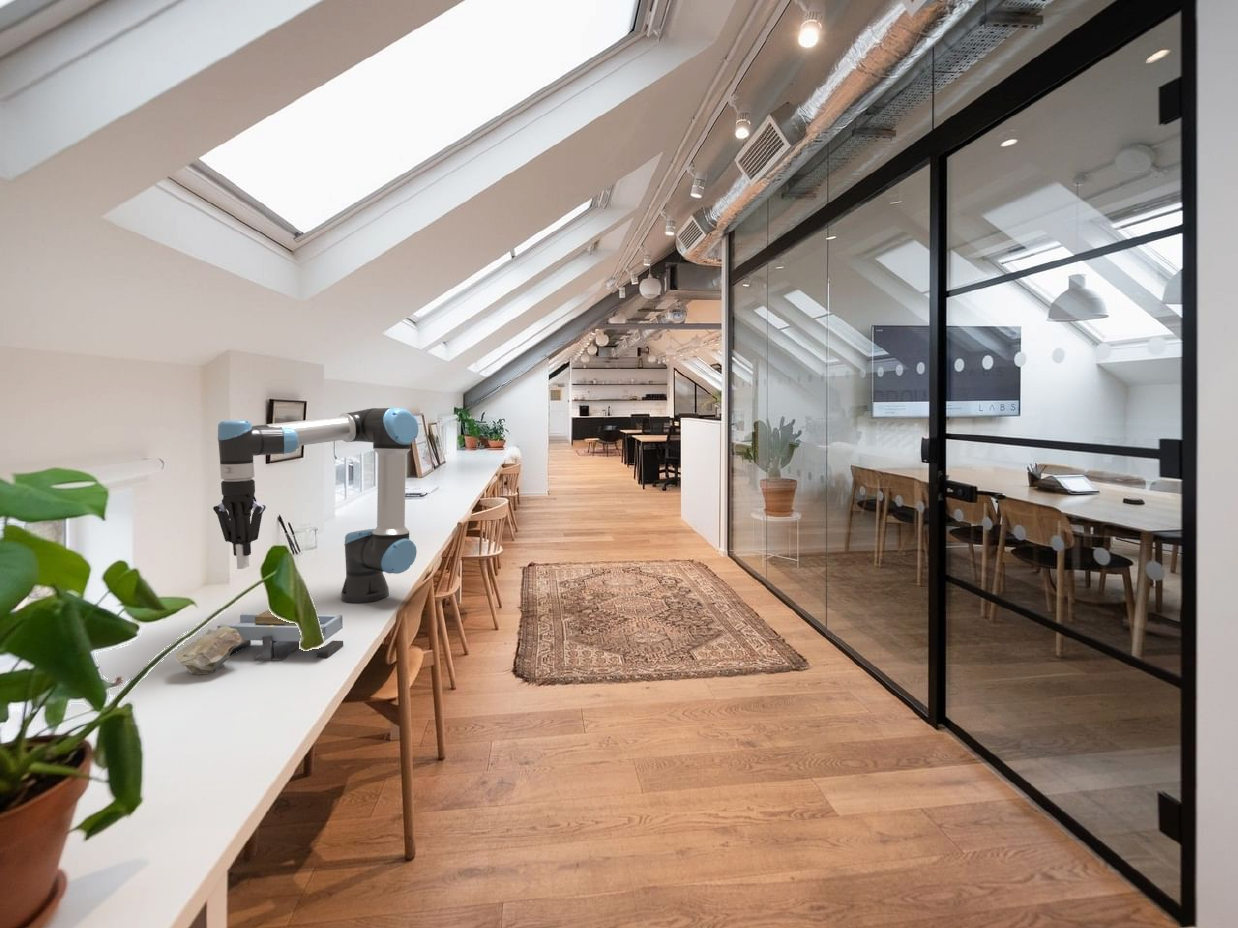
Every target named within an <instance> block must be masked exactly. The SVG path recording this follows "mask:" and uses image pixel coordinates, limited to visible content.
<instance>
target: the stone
mask: <svg viewBox="0 0 1238 928" xmlns="http://www.w3.org/2000/svg"><path fill="white" fill-rule="evenodd" d="M242 642H243V639H242V638H241V636H240V635H239V633H238V631H237V630H236V629H233V628H230V627H228V626H222V627H221V628H219V629H218V628H217V629H216V630H215V629H212V628H208V629H207V631H206V633H205V634H203V635H202V637H198V638H197V639H196V640H195V641H192V642H191V643H190V644H188V645H186V646H185V647H183V649H182V650H180V651H178V652H177V653H176V656H175V657H176V658H175V659H176V662H177V663H179V664H181V666H185V667H186V669H187V670H189V672H190V673H191V675H210V674H214V673H216V672H217V671H218V670H220V668H221V667H222V666H223V665H224V663H226V661H227V660H228V658H229V657H230V656H229V655H230V653H231V651H232V650H233V648H234V647H235V646H238V645H239V644H241V643H242Z"/></svg>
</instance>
